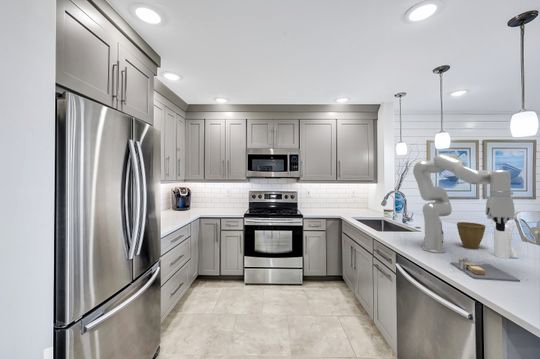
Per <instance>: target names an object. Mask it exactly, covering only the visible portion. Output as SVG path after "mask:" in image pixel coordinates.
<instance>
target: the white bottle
mask: <svg viewBox="0 0 540 359" xmlns="http://www.w3.org/2000/svg"><path fill="white" fill-rule="evenodd" d="M507 223H509V224H510V227H509V225H508V224H505V231H498V230H496V224H495V222H494V221H493V220H492V219H491V221H490V223H489V224H490V225H491V226H493V225H494V228H493V229H494V230H493V233H494V234H493V235H494V237H493V240H494V245H493V247H494V250H493V251H494V257H496V258H499V259H510V256H511V257H513V258H516V257H518V256H519V255H518V253H517V251H516V250H515V249H514V248H513V246H512V239H513V238H512V237H513V231H514V228H515V227H514V222H513V221H511V220H508V221H507Z"/></svg>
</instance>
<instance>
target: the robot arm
mask: <svg viewBox="0 0 540 359" xmlns="http://www.w3.org/2000/svg"><path fill="white" fill-rule="evenodd" d="M445 171H448V172H449V173H452V174H453V175H454V176H455V177H456V178H457V179H458V180H460V181H462V182H465V183H467V184H470V185H489V196H488V197H487V200H486V203H485V215H486V218H487V219H488V220H491V221H492V220H493V221H494V223H495V225H496V230H498V231H505V225H506V224H507V223H508V222H507V221H511V220H514V219H515V217H514V216H515V212H516V211H515V203H514V199H513V197H512V196H513V195H514V192H513V191H511V185H512V184H511V176H512V175H511V171H510V170H507V169H506V170H505V169H500V170H498V169H497V170H496V169H495V170H489V169H488V170H487V169H483V170H482V169H481V170H479V169H477V170H475V169H472V168H470V167H466V162H465V161H464V160H462V159H460V158H459V156H458V155H456V154H453V153H438V154H437V155H435V156H434V157H433V160H420V161H418V162H416V163H415V164H414V166H413V170H412V172H413V173H412V174H413V176H414V179H415V181H416V183H417V187H418V191H419V194H420V197H421V199H422V200H423V201H428V202H427V203H425V204H424V205H422V214H423V218H424V237H425V239H424V245H423V246H422V247H421V249H422V250H423V251H426V252H429V253H434V254H435V253H436V254H439V253H440V254H442V253H443V254H444V253H446V249H445V248H443V242H442V230H443V223H442V220H441V219H440V217H447V216H448V217H449V216H451V214H452V212H453V210H452V209H453V208H452V204H451V201H450V199H449V196H448V193H447V191H446V189H445V188H443V187H442V186H434V184H433V181H432V178H431V177H430V176H429V175H428V174H438V173H442V172H445ZM429 201H430V202H429ZM431 201H432V202H431Z"/></svg>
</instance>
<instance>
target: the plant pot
mask: <svg viewBox="0 0 540 359" xmlns="http://www.w3.org/2000/svg"><path fill="white" fill-rule="evenodd" d="M456 226H457V227H456V229H457V231H458V235H459V238H460V241H461V244H462V247H463V248H466V249H471V250H478V249H479V247H480V246H481V243H482V240H483V237H484V234H485V230H486V225H485V224H482V223H476V222H466V221H459V222H456Z"/></svg>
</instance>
